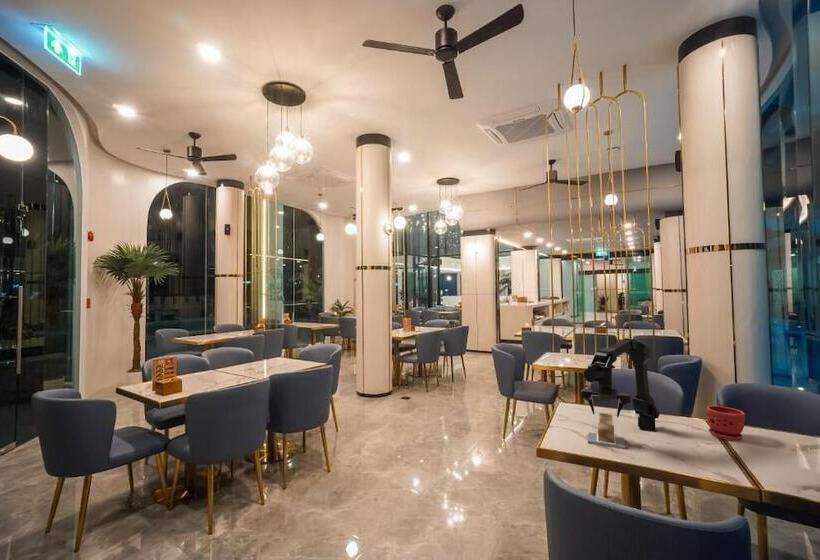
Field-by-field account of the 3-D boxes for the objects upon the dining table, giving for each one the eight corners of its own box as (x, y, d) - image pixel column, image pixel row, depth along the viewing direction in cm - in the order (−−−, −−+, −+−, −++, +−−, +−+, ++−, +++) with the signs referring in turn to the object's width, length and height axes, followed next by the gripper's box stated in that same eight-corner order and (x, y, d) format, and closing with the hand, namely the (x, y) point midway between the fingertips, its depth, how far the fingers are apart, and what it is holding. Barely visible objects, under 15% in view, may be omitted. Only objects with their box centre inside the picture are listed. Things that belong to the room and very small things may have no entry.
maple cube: (612, 426, 167) (612, 414, 167) (612, 429, 162) (612, 417, 162) (599, 424, 169) (599, 412, 169) (599, 428, 165) (599, 416, 165)
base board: (624, 439, 167) (624, 436, 167) (625, 449, 158) (625, 446, 158) (588, 434, 174) (588, 431, 174) (587, 443, 164) (587, 440, 164)
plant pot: (747, 445, 161) (746, 416, 161) (707, 437, 169) (706, 410, 169) (744, 435, 171) (743, 408, 171) (707, 429, 179) (706, 403, 179)
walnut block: (614, 436, 168) (613, 425, 168) (614, 443, 161) (614, 431, 161) (598, 434, 170) (598, 423, 171) (598, 440, 163) (598, 429, 163)
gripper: (580, 381, 163) (580, 418, 163) (630, 386, 155) (631, 425, 154) (581, 375, 173) (582, 410, 173) (629, 380, 165) (630, 416, 164)
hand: (605, 415), depth 166 cm, fingers open, 9 cm apart
